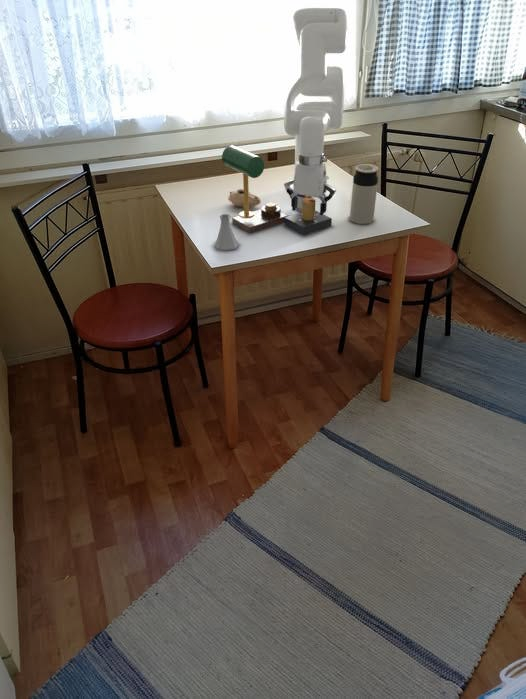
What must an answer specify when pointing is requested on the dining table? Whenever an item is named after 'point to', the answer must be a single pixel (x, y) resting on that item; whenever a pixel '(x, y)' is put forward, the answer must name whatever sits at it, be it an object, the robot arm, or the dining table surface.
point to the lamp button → (270, 206)
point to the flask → (225, 235)
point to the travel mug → (364, 194)
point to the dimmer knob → (308, 208)
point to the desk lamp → (243, 170)
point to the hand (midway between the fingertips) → (308, 211)
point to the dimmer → (307, 223)
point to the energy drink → (300, 198)
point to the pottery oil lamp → (242, 198)
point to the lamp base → (260, 220)
